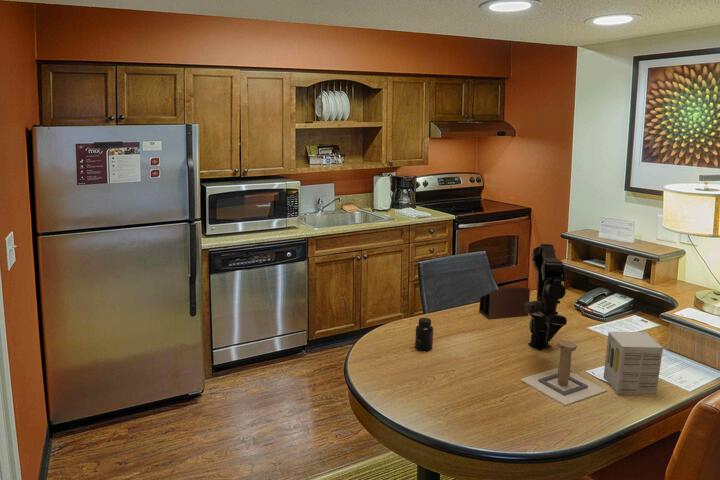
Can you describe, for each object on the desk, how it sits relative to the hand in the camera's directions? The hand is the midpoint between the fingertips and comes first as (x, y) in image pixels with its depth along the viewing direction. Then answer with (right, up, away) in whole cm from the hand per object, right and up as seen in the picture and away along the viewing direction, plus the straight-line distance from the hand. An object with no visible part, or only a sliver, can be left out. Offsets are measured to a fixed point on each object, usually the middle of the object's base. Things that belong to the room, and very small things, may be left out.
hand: (541, 338), depth 211 cm
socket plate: (+4, -15, -11) cm, 19 cm away
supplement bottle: (-41, -7, +18) cm, 45 cm away
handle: (+4, -14, -11) cm, 18 cm away
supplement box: (+27, -15, -11) cm, 32 cm away
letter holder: (0, +1, +56) cm, 56 cm away
